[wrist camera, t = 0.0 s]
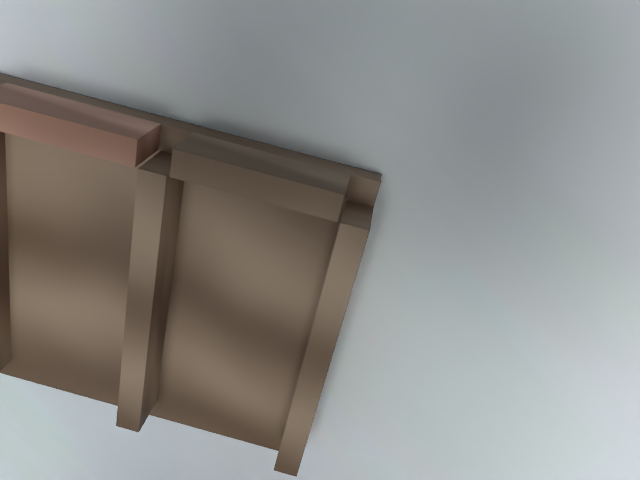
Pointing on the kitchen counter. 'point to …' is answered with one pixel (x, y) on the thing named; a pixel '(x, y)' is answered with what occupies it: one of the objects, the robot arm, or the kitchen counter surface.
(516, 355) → the kitchen counter surface
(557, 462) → the kitchen counter surface
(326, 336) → the divided brown tray
